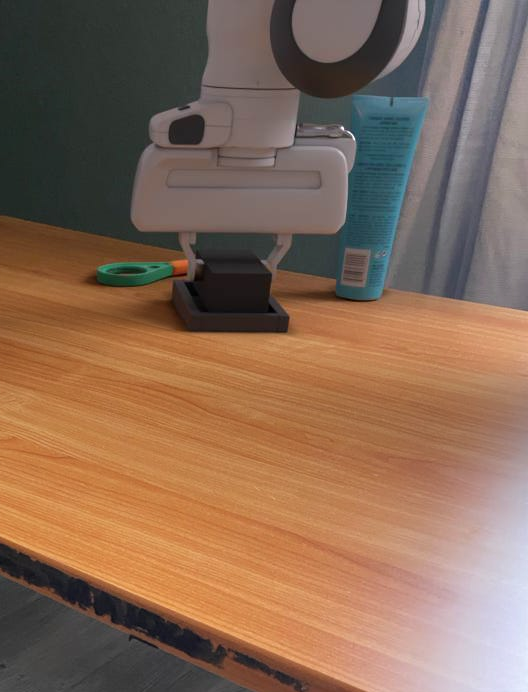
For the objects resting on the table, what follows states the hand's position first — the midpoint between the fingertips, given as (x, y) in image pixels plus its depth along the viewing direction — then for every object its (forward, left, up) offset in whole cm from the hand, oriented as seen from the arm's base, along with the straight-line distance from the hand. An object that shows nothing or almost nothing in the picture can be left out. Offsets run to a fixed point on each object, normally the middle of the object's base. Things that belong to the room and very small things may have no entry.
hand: (229, 280), depth 98 cm
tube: (-16, -10, -4) cm, 19 cm away
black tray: (0, 0, -4) cm, 4 cm away
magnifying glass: (+5, -18, -4) cm, 19 cm away
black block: (0, 0, -2) cm, 2 cm away
